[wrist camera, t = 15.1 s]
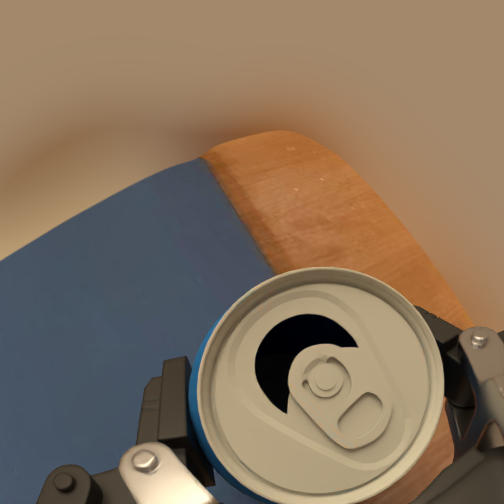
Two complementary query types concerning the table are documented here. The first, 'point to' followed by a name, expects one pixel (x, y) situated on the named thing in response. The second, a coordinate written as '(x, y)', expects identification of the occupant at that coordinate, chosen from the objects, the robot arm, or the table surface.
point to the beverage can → (316, 388)
